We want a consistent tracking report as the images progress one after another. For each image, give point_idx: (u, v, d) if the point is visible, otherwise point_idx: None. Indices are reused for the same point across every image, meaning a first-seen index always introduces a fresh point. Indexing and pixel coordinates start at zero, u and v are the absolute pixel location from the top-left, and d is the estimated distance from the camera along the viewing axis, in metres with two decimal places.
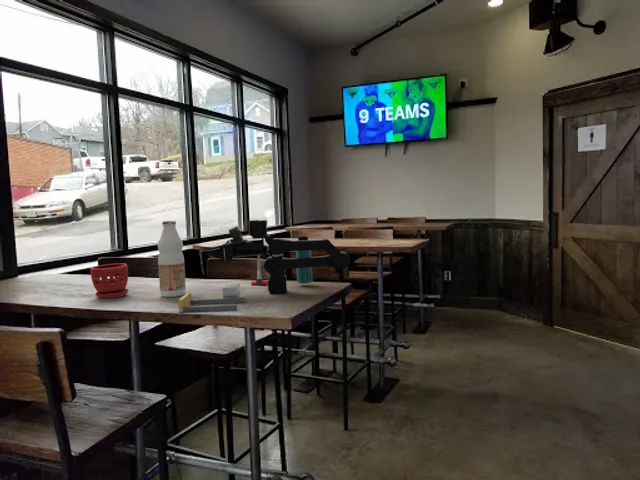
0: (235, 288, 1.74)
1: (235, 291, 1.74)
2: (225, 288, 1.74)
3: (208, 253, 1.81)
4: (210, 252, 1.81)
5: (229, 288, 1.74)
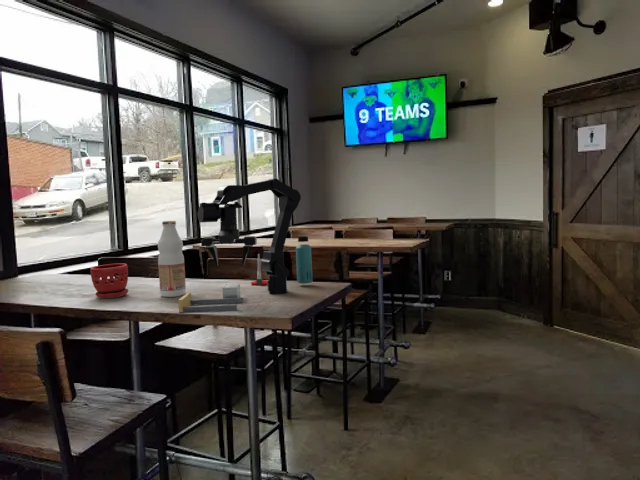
0: (235, 288, 1.74)
1: (235, 291, 1.74)
2: (225, 288, 1.74)
3: (244, 262, 1.77)
4: None
5: (229, 288, 1.74)
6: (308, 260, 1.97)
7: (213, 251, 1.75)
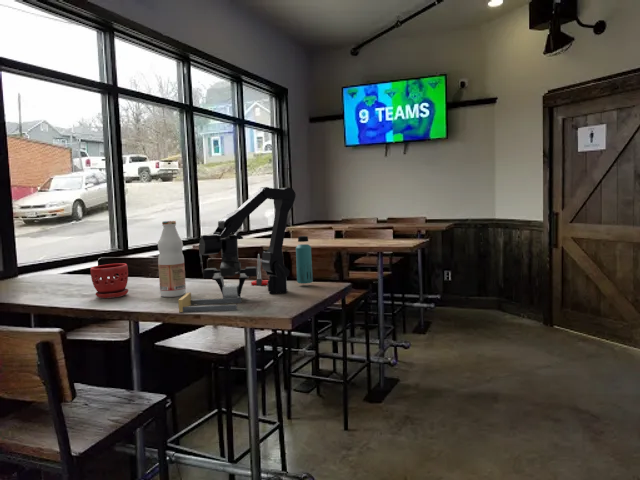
0: (235, 288, 1.74)
1: (235, 291, 1.74)
2: (225, 288, 1.74)
3: (240, 292, 1.78)
4: None
5: (229, 288, 1.74)
6: (308, 260, 1.97)
7: (220, 282, 1.76)
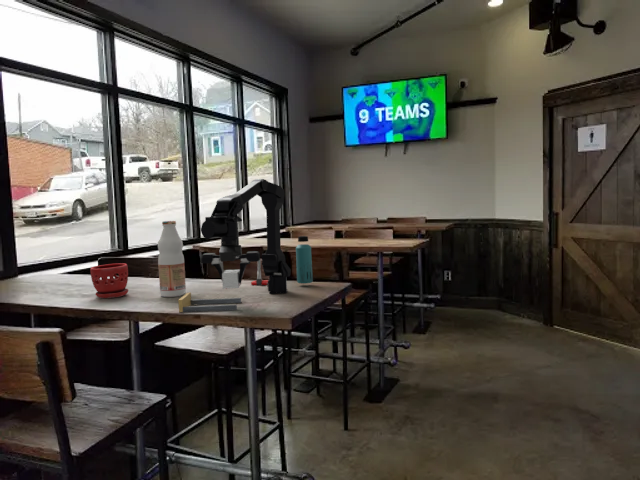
0: (235, 274, 1.62)
1: (235, 277, 1.62)
2: (225, 274, 1.62)
3: (241, 279, 1.66)
4: None
5: (229, 274, 1.62)
6: (308, 260, 1.97)
7: (219, 268, 1.63)
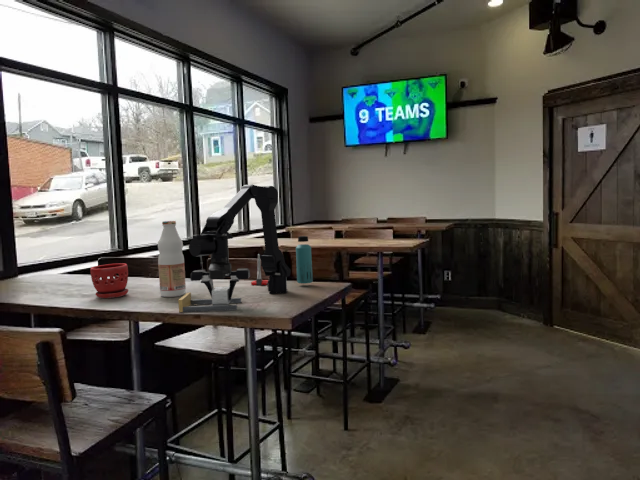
0: (225, 291, 1.62)
1: (225, 294, 1.62)
2: (214, 291, 1.62)
3: (231, 296, 1.66)
4: (231, 294, 1.66)
5: (218, 291, 1.62)
6: (308, 260, 1.97)
7: (209, 285, 1.64)
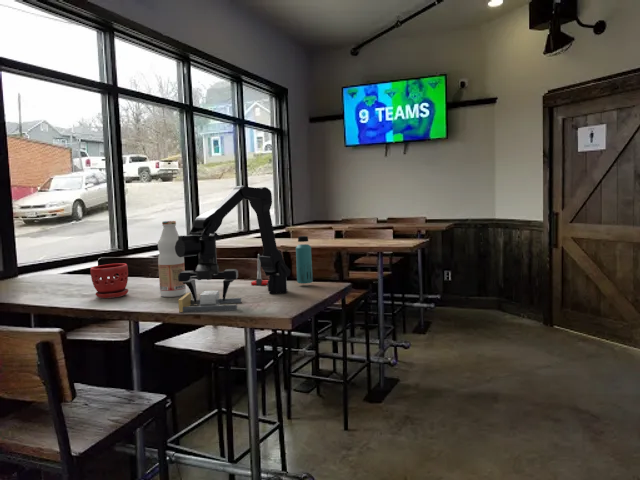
0: (213, 295, 1.62)
1: (213, 298, 1.62)
2: (202, 295, 1.62)
3: None
4: (225, 295, 1.66)
5: (207, 295, 1.62)
6: (308, 260, 1.97)
7: (191, 286, 1.64)
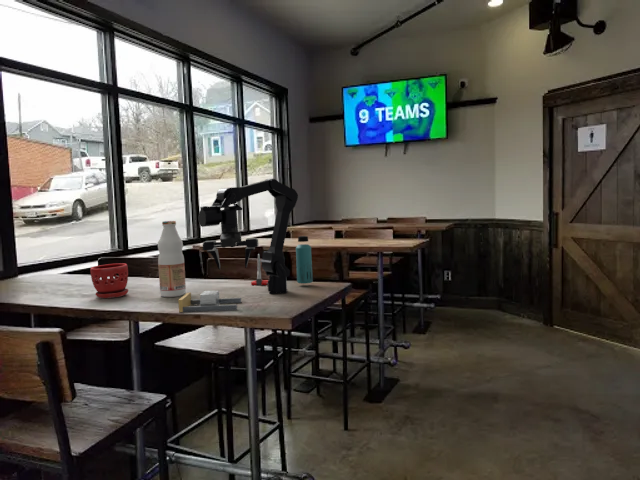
0: (213, 295, 1.62)
1: (213, 298, 1.62)
2: (202, 295, 1.62)
3: None
4: (247, 262, 1.76)
5: (207, 295, 1.62)
6: (308, 260, 1.97)
7: (215, 255, 1.73)
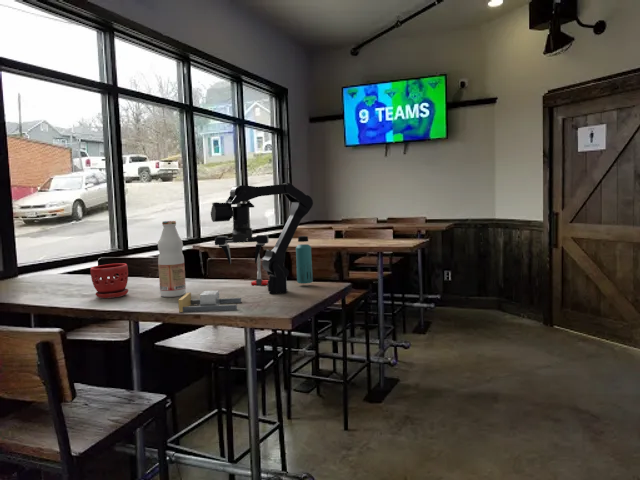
0: (213, 295, 1.62)
1: (213, 298, 1.62)
2: (202, 295, 1.62)
3: None
4: (257, 258, 1.81)
5: (206, 295, 1.62)
6: (308, 260, 1.97)
7: (226, 250, 1.79)
